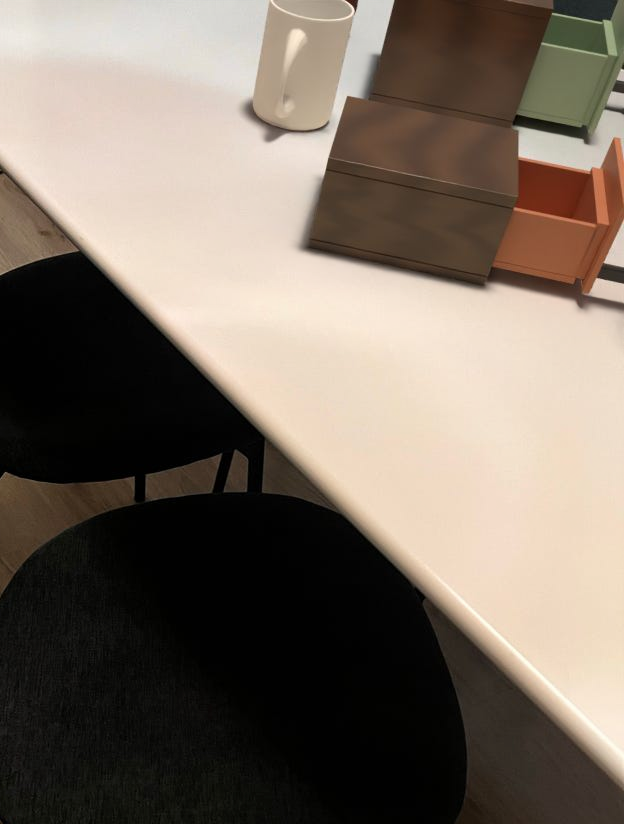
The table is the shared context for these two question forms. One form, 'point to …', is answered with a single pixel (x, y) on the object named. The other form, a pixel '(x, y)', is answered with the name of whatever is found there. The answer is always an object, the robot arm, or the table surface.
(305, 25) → the mug
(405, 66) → the wooden drawer cabinet
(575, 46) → the green drawer
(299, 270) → the table surface
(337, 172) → the cubby low
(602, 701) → the table surface
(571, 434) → the table surface
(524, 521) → the table surface
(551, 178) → the orange drawer
